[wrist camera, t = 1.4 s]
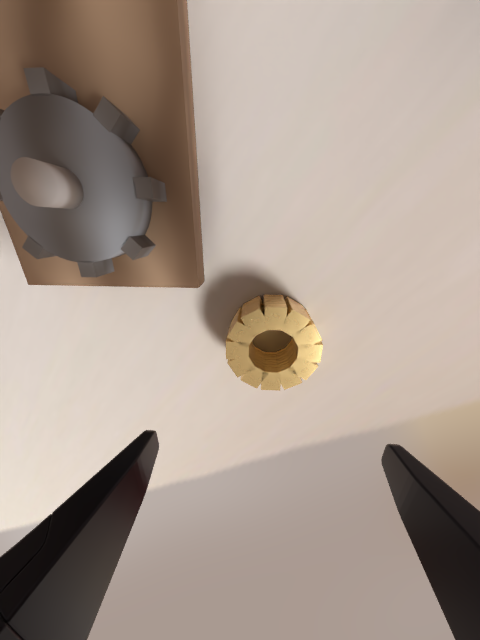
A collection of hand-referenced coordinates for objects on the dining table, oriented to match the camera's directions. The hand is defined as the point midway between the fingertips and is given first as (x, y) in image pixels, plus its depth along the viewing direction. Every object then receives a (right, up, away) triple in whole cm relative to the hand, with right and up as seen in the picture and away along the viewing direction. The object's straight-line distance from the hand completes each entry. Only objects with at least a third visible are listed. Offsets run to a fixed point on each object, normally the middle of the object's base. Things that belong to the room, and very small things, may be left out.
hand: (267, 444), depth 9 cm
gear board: (-10, +18, +5) cm, 21 cm away
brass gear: (+2, +4, +11) cm, 11 cm away
